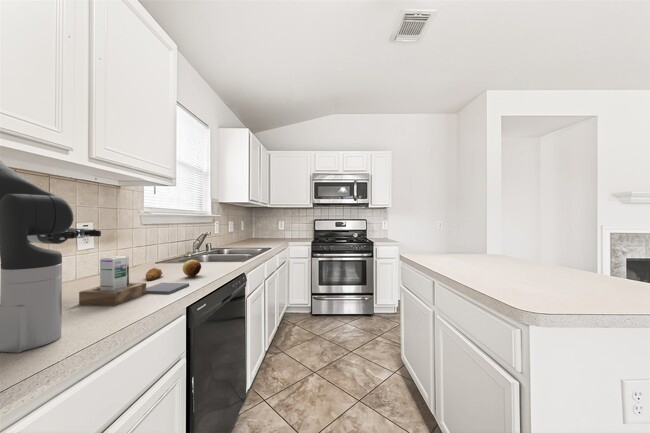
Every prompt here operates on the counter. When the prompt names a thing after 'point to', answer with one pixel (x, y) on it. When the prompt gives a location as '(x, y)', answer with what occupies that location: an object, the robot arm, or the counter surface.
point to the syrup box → (114, 273)
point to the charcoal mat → (166, 288)
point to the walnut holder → (111, 295)
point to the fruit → (192, 268)
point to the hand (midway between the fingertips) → (88, 234)
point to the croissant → (153, 274)
